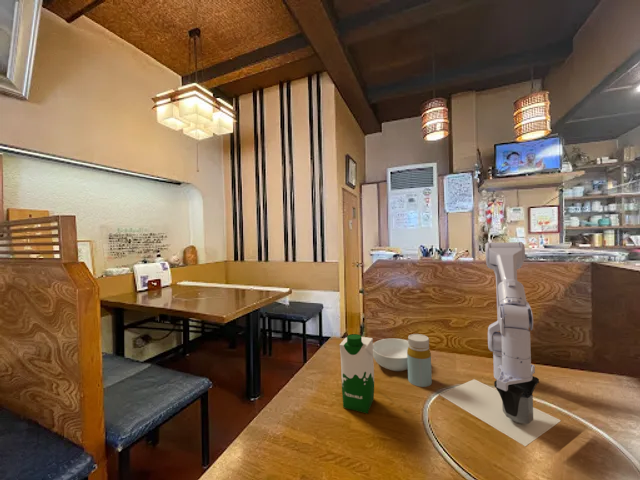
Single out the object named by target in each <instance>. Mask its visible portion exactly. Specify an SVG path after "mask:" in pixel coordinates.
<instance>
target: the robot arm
mask: <svg viewBox="0 0 640 480" xmlns="http://www.w3.org/2000/svg"><path fill="white" fill-rule="evenodd" d="M484 248H485V249H484V250H485V253H484V254H485V264H486V267H487V268H488V269H490V270H493V272H494V275H495V286H496V287H495V288H496V289H495V290H496V291H495V292H496V314H497V317H496V318H497V320H496V321H494V322H492V323H491V324H489V325H488V327H487V346H488V350H489V351H490V352H492V355H493V356H492V358H493V363H492V364H493V365H492V366H493V377H494V379H495V381H493V382H494V383H493V384H494V387H495V389H496V390H498V392H499V394H500V396H501V398H502V401H503V405H504V408H505V411H506V413H508V414H510V415H512V416H514V417H516V416H517V413H518V406H519V401H520V398H521V396H522V394H523V393H524V391H522V390H519V389H517V388H516V387H515V386H514V385H518V386H521V387H523V388H526V389H528V390H529V391H530V392H531V393H532V395H533V394H534V391H535V388H536V387H537V385H539V383H540V379H539V378H538V377H536V376H534V375H533V374H535V371H536V370H535V368H536V366H535V365H534V364H532V357H531V356H532V354H531V353H532V352H531V349H532V348H531V347H532V346H531V331H533V329H534V316H533V315H534V314H533V311H532V307H531V305H530V303H529V302H528V301H527V296H526V292H525V291H526V290H525V286H524V285H523V283H521V281H518V271H517V270H519V269H522V266H523V265H524V261H525V260H526V247H525V244H524V243H523V242H522V241H517V242H510V241H509V242H508V241H507V242H486V243H485V244H484Z"/></svg>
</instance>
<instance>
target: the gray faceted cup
mask: <svg viewBox="0 0 640 480" xmlns="http://www.w3.org/2000/svg"><path fill="white" fill-rule="evenodd" d="M514 386H515V387H516V388H517V389H519V390H522V391H524V393H523V394H522V396H521V398H520V401H519V406H518V413H517V416H516V417H514V416H512V415H510V414H508V413H506V411H505V408H504V405H503V401H502V407H503V412H504V414H505V415H506V417H508V418H510V419H512V420H514V421H516V422H519V423H528V424H529V423H530V422H531V421H533V407H534V397H533V394H532V393H531V392H530V391H529V390H528V389H526V388H523V387H521V386H518V385H514Z"/></svg>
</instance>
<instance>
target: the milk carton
mask: <svg viewBox="0 0 640 480" xmlns="http://www.w3.org/2000/svg"><path fill="white" fill-rule="evenodd" d="M373 343H374V339H373V337H367V336H366V337H365V336H362V335H360V334H358V333H357V334H356V333H351V334H348V335H347V336H345V338H343V340H342V341H341V342H340V343H339V353H340V367H341V369H340V372H341V373H340V374H341V377H340V378H341V393H342V408H343V409H348V410H351V411H354V412H355V411H356V412H360V413H363V414H369V412H370V409H371V406H372V403H373V401H374V400H375V365H374V361H375V360H374V357H373Z"/></svg>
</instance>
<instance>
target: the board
mask: <svg viewBox="0 0 640 480" xmlns="http://www.w3.org/2000/svg"><path fill="white" fill-rule="evenodd" d="M438 396H441V397H442V398H443V399H446V400H448V401H449V402H450V403H452V404H454V405H456V406H457V407H458V408H461V409H462V410H463V411H465V412H468V413H469V414H470V415H472V416H473V417H476V418H477V419H479V420H480V421H482V422H483V423H485V424H488V425H489V426H490V427H491V428H494V429H495V430H497V431H499V432H500V433H502V434H504V435H506V436H507V437H509V438H510V439H513V440H514V441H516V442H517V443H519V444H520V445H523V447H527V446H529V445H530V444H531V443H533V442H534V441H535V440H537V439H538V438H539V437H541V436H543V434H545V433H546V432H547V431H550V429H552V428H553V427H554V426H556V425H557V424H559V423H560V422H561V421H562V420H561V419H559V418H557V417H555V416H553V415H550V414H549V413H546V412H544V411H542V410H540V409H538V408H536V407H534V406H533V421H531V422H530V423H529V424H528V423H524V424H522V425H520V424H516V423H514V422H513V421H512V419H510V418H508V417H506V415H505V414H504V412H503V407H502V398H501V396H500V394H499V392H498V390H497V389H496V388H493V387H491V386H490V385H487V384H485V383H483V382H481V381H479V380H477V379H475V378H473V379H472V380H469V381H467V382H464V383H462V384H460V385H457V386H455V387H452V388H451V389H448V390H445V391H444V392H442V393H439V394H438Z"/></svg>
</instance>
